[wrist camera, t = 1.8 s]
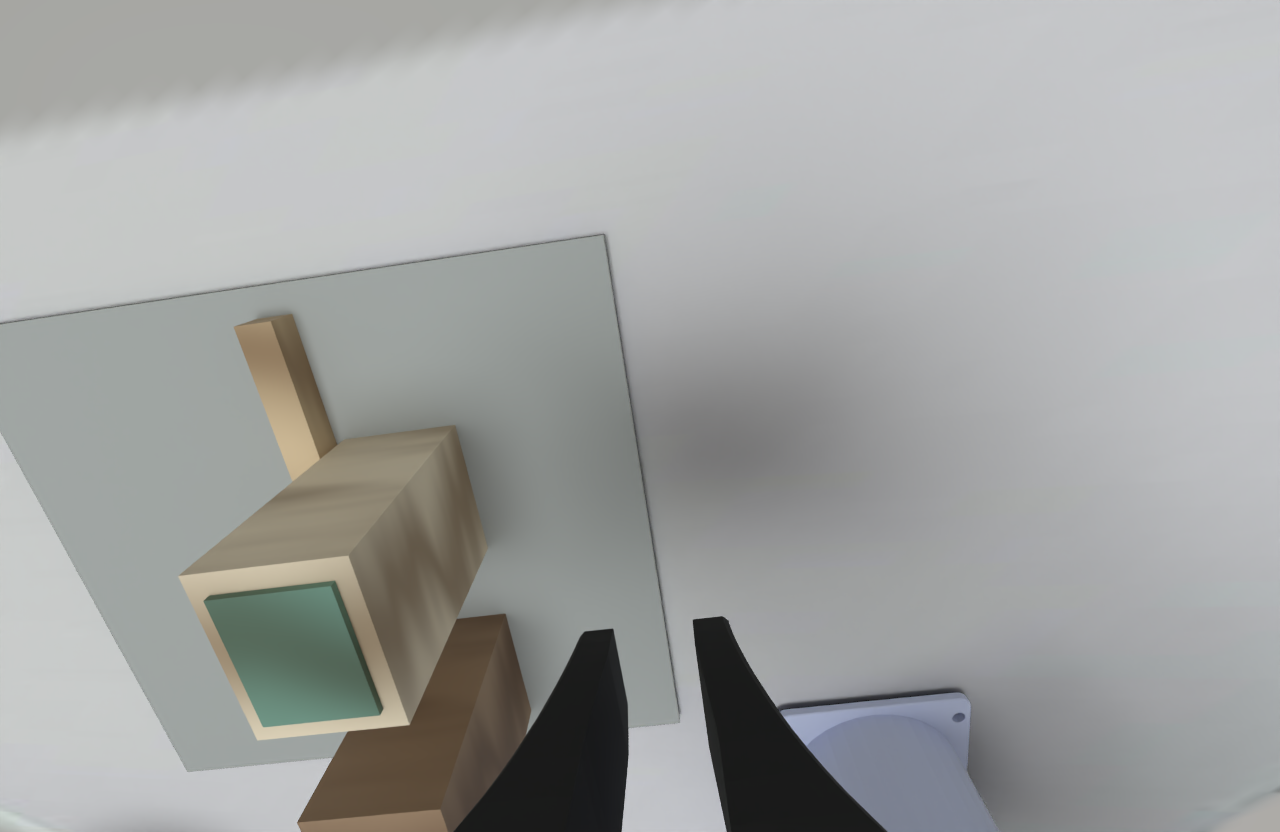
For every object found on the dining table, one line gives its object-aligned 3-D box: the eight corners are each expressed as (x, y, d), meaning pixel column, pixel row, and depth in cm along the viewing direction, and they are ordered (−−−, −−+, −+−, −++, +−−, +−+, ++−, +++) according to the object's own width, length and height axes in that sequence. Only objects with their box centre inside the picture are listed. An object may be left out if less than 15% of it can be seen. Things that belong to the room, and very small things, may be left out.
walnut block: (531, 710, 25) (483, 927, 18) (438, 719, 26) (353, 938, 18) (505, 613, 24) (440, 809, 16) (406, 624, 24) (297, 822, 16)
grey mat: (679, 715, 26) (679, 723, 26) (193, 764, 27) (187, 772, 27) (604, 234, 19) (603, 235, 19) (-42, 330, 20) (-55, 332, 20)
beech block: (488, 548, 23) (406, 732, 15) (384, 560, 23) (252, 747, 15) (455, 424, 21) (343, 560, 13) (343, 439, 21) (171, 581, 13)
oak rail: (435, 729, 26) (425, 754, 25) (407, 732, 26) (397, 757, 25) (292, 313, 20) (270, 321, 18) (256, 318, 20) (233, 326, 19)
